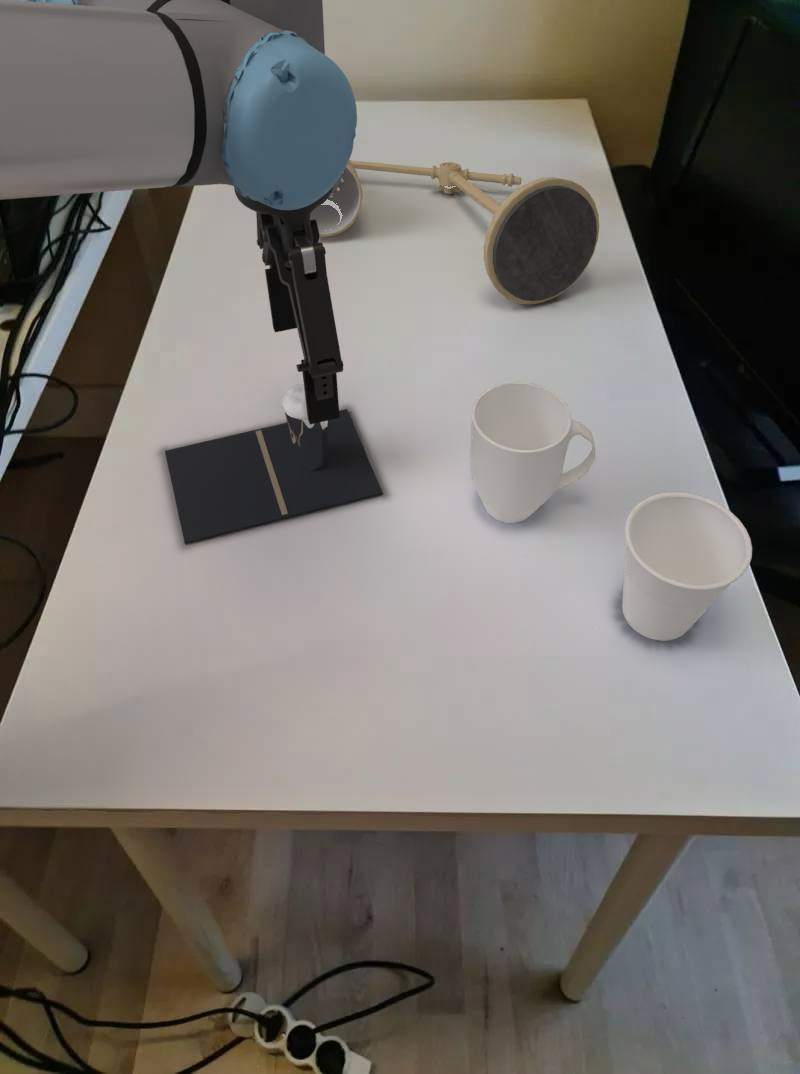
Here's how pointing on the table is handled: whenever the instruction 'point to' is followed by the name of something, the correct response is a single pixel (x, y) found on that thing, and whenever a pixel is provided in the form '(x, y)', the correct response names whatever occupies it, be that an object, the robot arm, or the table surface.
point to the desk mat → (264, 479)
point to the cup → (679, 561)
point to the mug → (522, 448)
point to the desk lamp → (501, 226)
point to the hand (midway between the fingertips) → (304, 371)
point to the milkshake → (305, 431)
